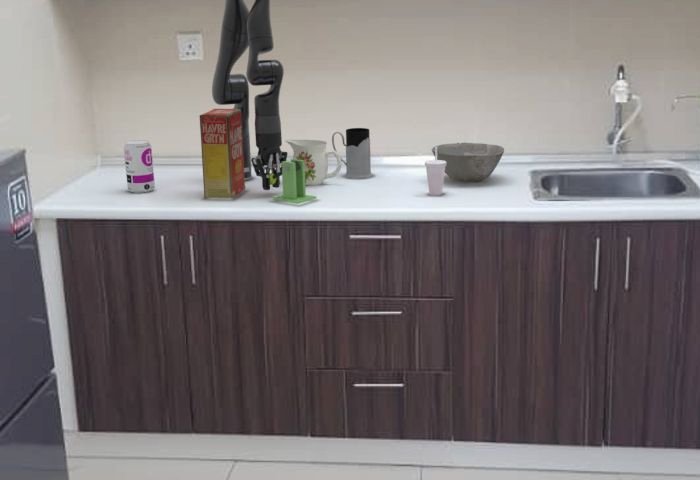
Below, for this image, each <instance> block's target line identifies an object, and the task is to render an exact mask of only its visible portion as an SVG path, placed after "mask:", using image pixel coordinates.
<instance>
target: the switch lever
mask: <svg viewBox="0 0 700 480" xmlns="http://www.w3.org/2000/svg"><path fill="white" fill-rule="evenodd" d="M294 163H295V166H296V171H297V170H299V169H300V166H299V164H298V161H296V162H294ZM278 177H280V178H281V177H282V171H281V172H279V173H277V174H275V175H274V174H273V173H272V172H270V174H269V178H270V186H272V184H274V183H275V182H276V178H278Z"/></svg>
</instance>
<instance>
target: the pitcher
mask: <svg viewBox="0 0 700 480" xmlns="http://www.w3.org/2000/svg"><path fill="white" fill-rule="evenodd" d="M284 142H285V143H287V144H288V145H289V146H290V148H291V149H292V152H293V156H292V159H297V160H304V165H305V186H319V185H323V184H324V182H325V181H326V180H327V179H328V180H329V179H331V178H334V177H336V176H337V175H338V174H339V173H340V171H341V169H342V161H341V158H342V157H341V155H340V153H339V151H337V150H336V151H337V152H336V151H334V149H333V150H328V151H327V150H326V149H327V141H324V140H320V139H319V140H318V139H285V140H284ZM331 155H332V156H334V157H335V158H336V162H337V165H336V168H335V170H333V172H331V173H328V170H329V156H331ZM340 157H341V158H340Z"/></svg>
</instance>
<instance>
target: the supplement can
mask: <svg viewBox="0 0 700 480" xmlns="http://www.w3.org/2000/svg"><path fill="white" fill-rule="evenodd" d="M123 153H124V164H125V173H126V174H125V175H126V185H127V186H126V187H127V190H128V191H129V192H130V193H134V194H143V193H144V194H145V193H150V192H152V191H154V189H156V183H155V175H154V174H155V173H154V162H153V161H154V160H153V149H152V145H151V144H150V141H149V140H146V139H137V140H136V139H135V140H129V141H126V142H125V144H124V147H123Z"/></svg>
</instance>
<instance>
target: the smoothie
mask: <svg viewBox="0 0 700 480" xmlns="http://www.w3.org/2000/svg"><path fill="white" fill-rule="evenodd" d="M434 147H435V146H434ZM424 166H425V169H426V170H425V171H426V178H427V185H428V186H427V187H428V194H429V195H430V196H434V197H435V196H442V194H443V188H444V181H445V174H446V173H445V166H446V161H443V160H437V147H435V156H434V159H430V160H429V159H428V160H426V161H424Z"/></svg>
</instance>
